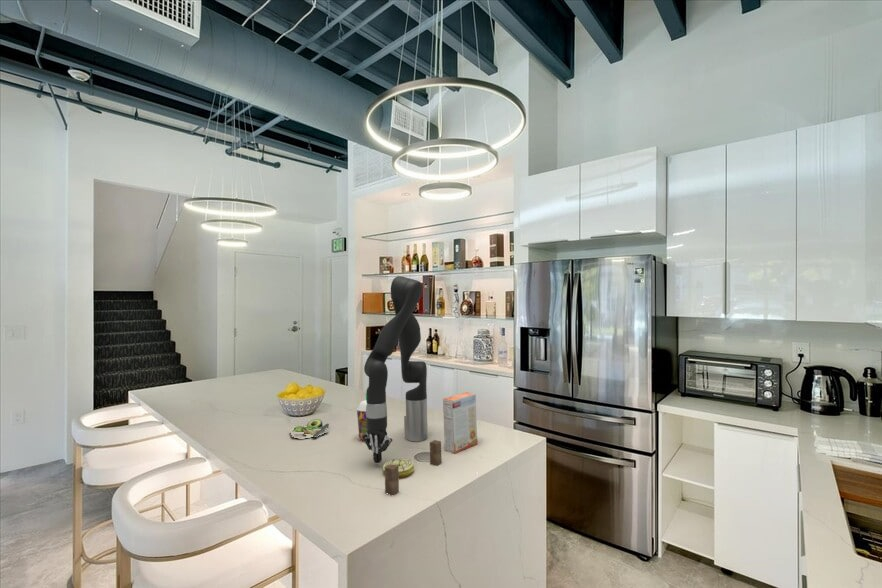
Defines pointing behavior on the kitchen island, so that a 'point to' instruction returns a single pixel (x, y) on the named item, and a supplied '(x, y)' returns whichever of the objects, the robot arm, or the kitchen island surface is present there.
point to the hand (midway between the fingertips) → (377, 462)
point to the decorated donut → (401, 466)
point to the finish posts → (392, 470)
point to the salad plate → (312, 428)
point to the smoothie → (362, 419)
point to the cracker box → (460, 422)
